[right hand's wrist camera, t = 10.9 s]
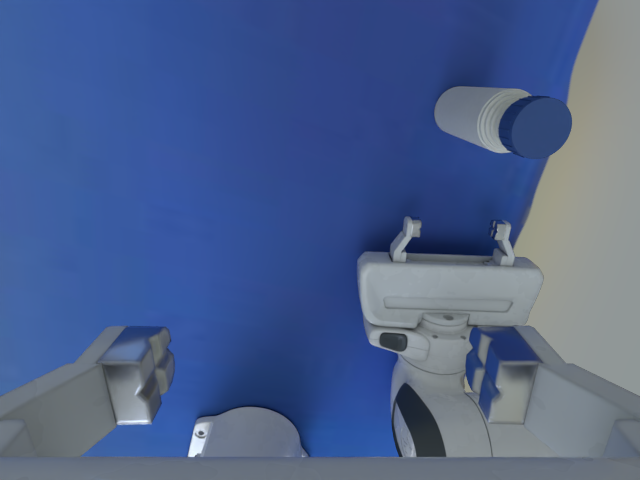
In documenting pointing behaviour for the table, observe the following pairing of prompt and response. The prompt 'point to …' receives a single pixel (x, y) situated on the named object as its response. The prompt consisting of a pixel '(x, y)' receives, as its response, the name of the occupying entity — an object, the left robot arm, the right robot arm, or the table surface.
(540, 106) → the cap
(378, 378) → the table surface
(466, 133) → the bottle
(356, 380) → the table surface
